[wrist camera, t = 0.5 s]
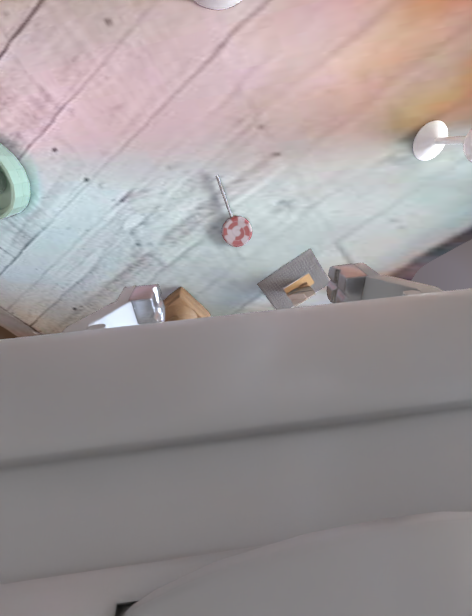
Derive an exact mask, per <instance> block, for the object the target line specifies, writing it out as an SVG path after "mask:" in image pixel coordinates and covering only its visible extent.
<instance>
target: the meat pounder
mask: <svg viewBox="0 0 472 616" xmlns="http://www.w3.org/2000/svg"><path fill="white" fill-rule="evenodd" d="M5 188H6V179H5V177H4V175H3V173H2V172H1V170H0V194H1V193H3V192H4V190H5Z"/></svg>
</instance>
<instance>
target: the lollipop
mask: <svg viewBox="0 0 472 616" xmlns="http://www.w3.org/2000/svg"><path fill="white" fill-rule="evenodd" d="M216 179H217V181H218V184H219V187H220V190H221V192H222V195H223V198H224V201H225V204H226V206H227V209H228V212H229V215H230V218H229V219H228V220H226V221H225V223H224V225H223V227H222V236H223V238H224V240H225V241H226V243H228V244H229V245H231V246H235V247H239V246H242V245H244V244H246V243H247V242H248V241H249V240H250V238H251V235H252V227H251V225H250V223H249V221H248V220H247V219H245V218H244V217H241V216H234V217H233V215H232V212H231V209H230V207H229V204H228V201H227V198H226V195H225V193H224V190H223V187H222V184H221V181H220V178H219V176H218V175H217V176H216Z"/></svg>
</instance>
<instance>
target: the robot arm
mask: <svg viewBox="0 0 472 616" xmlns="http://www.w3.org/2000/svg"><path fill="white" fill-rule="evenodd" d="M193 1H194V2H196V3H197V4H199V5H201V6H203V7H205V8H208V9H212V10H223V9H227V8H230V7H233V6H235V5H236V4H238V3H239V2H240V1H242V0H193ZM328 276H329V278H330V279H331V280H330V281H329V283H328V284H327V296H328V299H329V300H330V302H332V304H323V305H314V306H304V307H295V308H286V309H277V310H268V311H259V312H250V313H240V314H231V315H222V316H213V317H204V318H195V319H186V320H176V321H167V322H163V321H164V320H165V306H164V301H162V300H161V299H160V296H161V289H160V286H159V284H154V285H142V286H129V287H124V289H123V291H122V292H121V294H120V296H119V297H118V299H117V301H116V302H115V303H111V304H109V305H107V306H105V307H103V308H101V309H100V310H98V311H96V312H94V313H92V314H90V315H88V316H86V317H84V318H82V319H80V320H79V321H77V322H75V323H73V324H71V325H69V326H67V327H66V328H65V329H64V331H63V332H62V333H57V334H48V335H38V336H29V337H20V338H12V339H2V340H0V616H472V288H470V289H462V290H451V291H443V290H441V289H439V288H438V287H434V286H430V285H426V284H421V283H417V282H413V281H409V280H405V279H400V278H396V277H392V276H387V275H380V274H378V273H377V272H376V271H374V270H373V269H371V268H370V267H369V266H367V265H366V264H364V263H355V264H345V265H337V266H332V267H330V269H329V273H328Z"/></svg>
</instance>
